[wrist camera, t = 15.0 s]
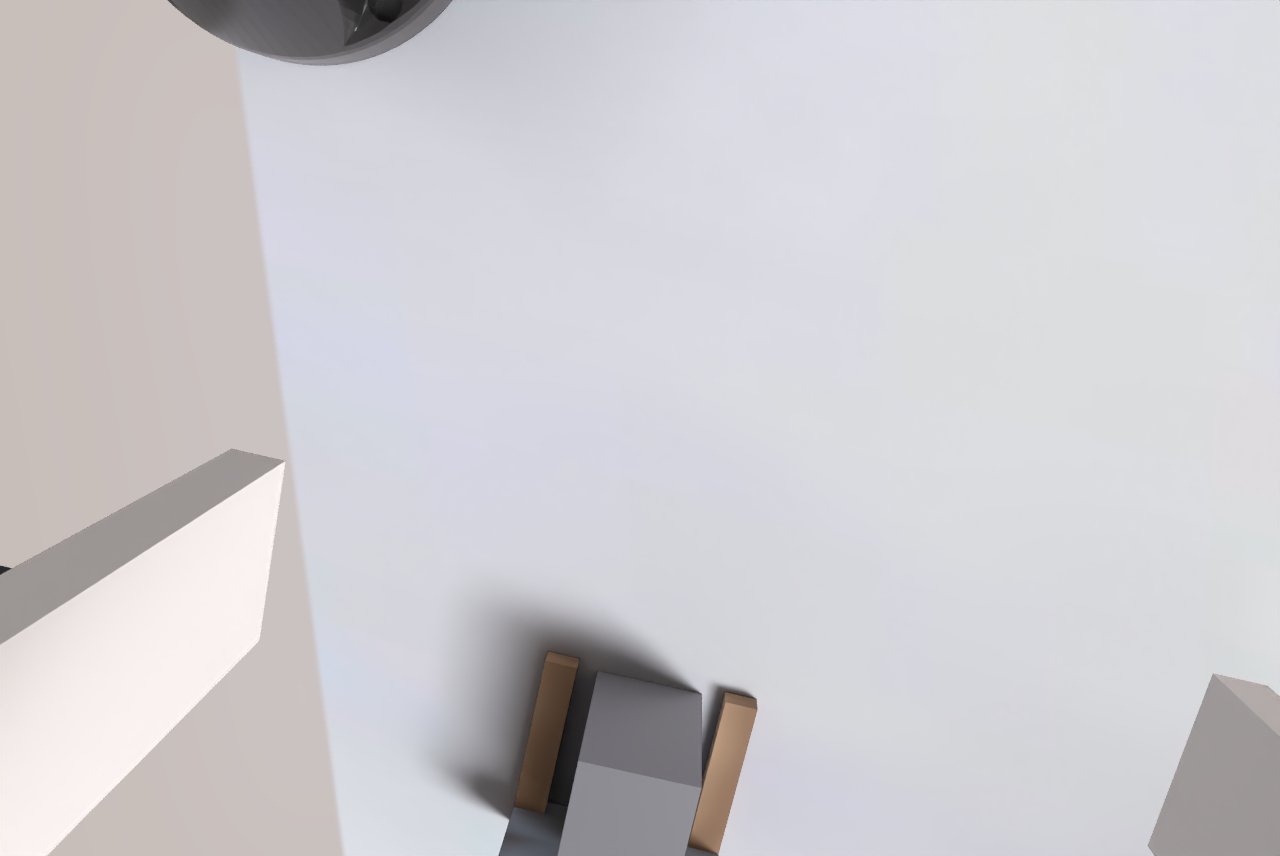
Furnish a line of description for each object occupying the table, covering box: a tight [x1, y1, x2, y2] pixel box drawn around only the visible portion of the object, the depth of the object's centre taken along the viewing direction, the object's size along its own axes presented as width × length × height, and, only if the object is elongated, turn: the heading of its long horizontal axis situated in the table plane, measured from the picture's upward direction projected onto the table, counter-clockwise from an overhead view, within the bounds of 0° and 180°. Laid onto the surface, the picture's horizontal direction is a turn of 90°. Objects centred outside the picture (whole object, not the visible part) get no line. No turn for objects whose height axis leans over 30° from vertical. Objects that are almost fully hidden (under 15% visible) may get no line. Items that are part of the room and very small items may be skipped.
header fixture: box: [499, 651, 757, 856], centre depth 46 cm, size 10×9×9 cm
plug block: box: [558, 671, 702, 856], centre depth 46 cm, size 5×7×8 cm
